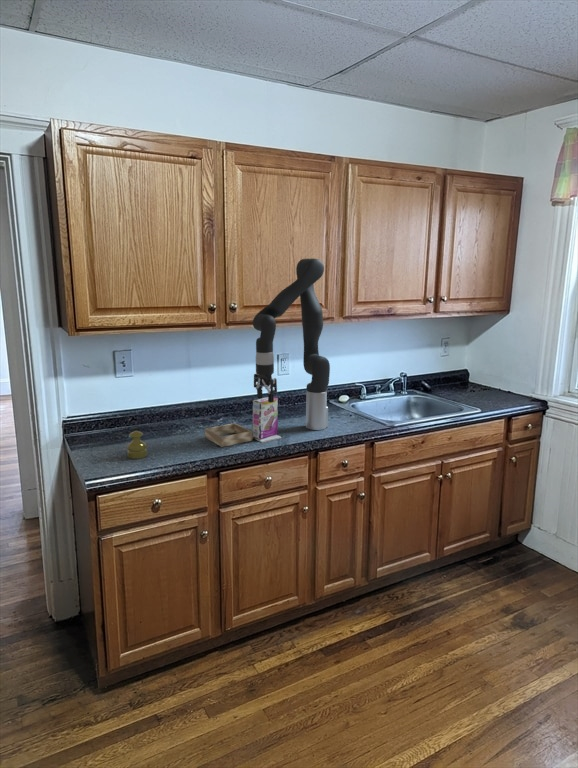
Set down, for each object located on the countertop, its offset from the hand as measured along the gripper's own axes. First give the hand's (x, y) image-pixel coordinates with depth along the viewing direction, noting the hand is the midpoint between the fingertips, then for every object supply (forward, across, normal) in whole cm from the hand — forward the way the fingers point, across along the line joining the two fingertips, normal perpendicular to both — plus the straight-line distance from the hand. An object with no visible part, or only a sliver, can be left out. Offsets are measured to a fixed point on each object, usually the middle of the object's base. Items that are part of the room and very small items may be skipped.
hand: (265, 400), depth 223 cm
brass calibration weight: (+16, +9, +53) cm, 56 cm away
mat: (+16, 0, 0) cm, 17 cm away
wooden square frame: (+16, +7, +14) cm, 23 cm away
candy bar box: (+16, 0, 0) cm, 16 cm away
